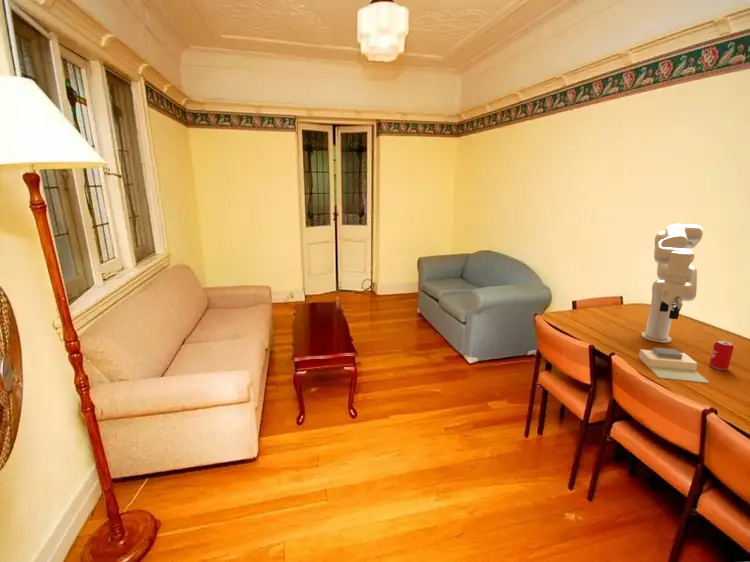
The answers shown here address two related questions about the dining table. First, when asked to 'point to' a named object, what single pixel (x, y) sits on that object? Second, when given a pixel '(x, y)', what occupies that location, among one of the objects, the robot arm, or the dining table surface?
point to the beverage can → (721, 354)
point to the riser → (667, 361)
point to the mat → (678, 374)
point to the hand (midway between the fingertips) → (668, 314)
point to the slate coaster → (667, 353)
